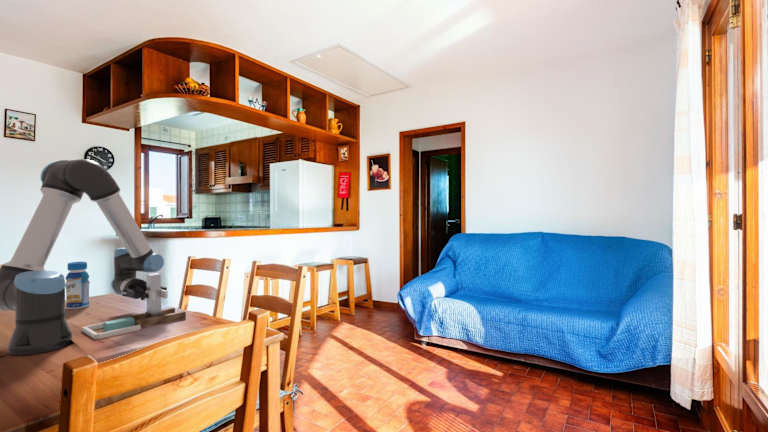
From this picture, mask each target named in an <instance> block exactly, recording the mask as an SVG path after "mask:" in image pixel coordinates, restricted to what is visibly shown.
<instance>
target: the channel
mask: <svg viewBox="0 0 768 432" xmlns="http://www.w3.org/2000/svg"><path fill="white" fill-rule="evenodd" d="M161 312H163V315H161V316H156V317H152V318H147V319H146V312H142V313H137V314H131V315H126V317H132V318H134V326H136V325H141V329H144V328H149V327H153V326H154V327H155V326H157V325H162V324H167V323H171V322H176V321H179V320H180V321H181V320H184V319H185V320H186V319H187V314H186V313H187V312H186V311H184V310H181V311H178V312H177V311H176V308H175V307H173V306H172V307H167V308H163V309H162V308H161Z"/></svg>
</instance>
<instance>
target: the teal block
mask: <svg viewBox="0 0 768 432" xmlns="http://www.w3.org/2000/svg"><path fill="white" fill-rule="evenodd" d="M116 319H117V318H116ZM117 320H120V321H121V329H122V328H126V327H131V326H134V318H132V317H127V316H126V317H123V318H118V319H117Z"/></svg>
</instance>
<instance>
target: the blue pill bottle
mask: <svg viewBox="0 0 768 432" xmlns="http://www.w3.org/2000/svg"><path fill="white" fill-rule="evenodd" d="M87 269H88V262H87V261H72V262H68V263H67V271H68V273H67V275H66V276H65V309H67V310H79V309H83V308H87V307H89V306H90V283H91V282H90V280H89V278H90V275H89V272H87V271H86V270H87Z"/></svg>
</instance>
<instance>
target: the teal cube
mask: <svg viewBox="0 0 768 432" xmlns="http://www.w3.org/2000/svg"><path fill="white" fill-rule="evenodd" d="M103 323H104V328H103V332H108V331H112V330H117V329H121V321H120V320H117V318H116V319H111V320H106V321H103Z"/></svg>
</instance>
